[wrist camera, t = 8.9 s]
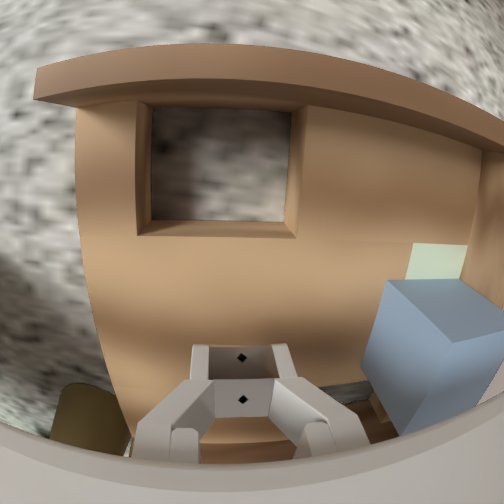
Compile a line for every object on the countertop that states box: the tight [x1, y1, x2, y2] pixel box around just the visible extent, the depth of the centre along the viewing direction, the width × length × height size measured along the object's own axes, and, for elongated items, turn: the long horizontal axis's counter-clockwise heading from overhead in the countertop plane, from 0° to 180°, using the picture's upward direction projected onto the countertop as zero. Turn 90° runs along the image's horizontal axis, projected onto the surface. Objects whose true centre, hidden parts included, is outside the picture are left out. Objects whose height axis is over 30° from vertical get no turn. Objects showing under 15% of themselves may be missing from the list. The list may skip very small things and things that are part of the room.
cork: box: [49, 384, 131, 456], centre depth 12 cm, size 6×6×11 cm
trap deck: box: [33, 43, 504, 464], centre depth 12 cm, size 20×19×6 cm
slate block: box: [360, 279, 504, 436], centre depth 11 cm, size 5×5×5 cm
